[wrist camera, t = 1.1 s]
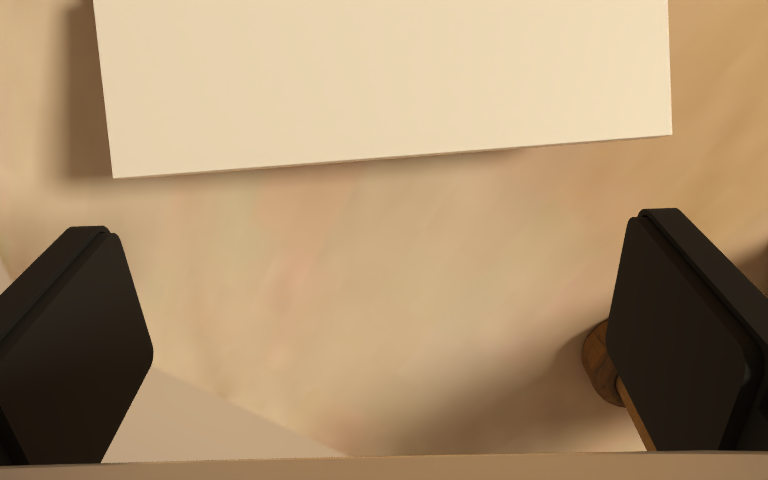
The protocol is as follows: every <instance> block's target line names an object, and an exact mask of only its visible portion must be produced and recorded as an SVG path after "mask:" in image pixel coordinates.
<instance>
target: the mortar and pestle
mask: <svg viewBox="0 0 768 480" xmlns="http://www.w3.org/2000/svg"><path fill="white" fill-rule="evenodd" d="M607 324H608V320H607V321H605V322H604V323H602V324H601V325H599V326H598V327H597V328H596V329H595V330H594V331H593V332H592V333H591V334H590V335H589V336H588V338H587V339H586V341H585V343H584V346H583V349H582V362H583V365H584V368H585V370H586V372H587V374H588V376H589V378H590V380H591V383H592V385H593V387H594V389H595V390H596V392H597V393H598V394H599V395H600V396H601V397H602V398H603V399H604V400H606V401H607V402H609V403H611V404H613V405H616V406H620V407H625V408H627V410H628V412H629V414H630V416H631V418H632V421H633V423H634V425H635V427H636V429H637V431H638V433H639V435H640V437H641V439H642V441H643V443H644V445H645V447H646V449H647V451H657V450H656V448H655V446H654V444H653V442H652V440H651V438H650V436H649V434H648V432H647V430H646V428H645V426H644V424H643V422H642V420H641V418H640V416H639V414H638V412H637V410H636V408H635V406H634V404H633V402H632V400H631V398H630V396H629V394H628V392H627V390H626V388H625V386H624V384H623V382H622V380H621V378H620V377H619V375H618V373H617V371H616V369H615V367H614V365H613V363H612V361H611V359H610V357H609V355H608V352H607V349H606V342H605V336H606V330H607Z"/></svg>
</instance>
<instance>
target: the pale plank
mask: <svg viewBox="0 0 768 480" xmlns="http://www.w3.org/2000/svg"><path fill="white" fill-rule="evenodd" d="M93 5H94V13H95V22H96V31H97V40H98V49H99V58H100V67H101V76H102V84H103V93H104V102H105V111H106V120H107V129H108V138H109V147H110V155H111V164H112V173H113V178H118V179H138V178H151V177H164V176H177V175H190V174H203V173H215V172H228V171H241V170H254V169H267V168H280V167H293V166H305V165H318V164H331V163H344V162H357V161H370V160H382V159H395V158H408V157H421V156H434V155H447V154H459V153H472V152H485V151H498V150H511V149H524V148H537V147H549V146H562V145H575V144H588V143H601V142H614V141H626V140H639V139H652V138H659V137H664V136H668V135H672V114H671V85H670V56H669V26H668V0H93Z"/></svg>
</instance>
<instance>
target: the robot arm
mask: <svg viewBox="0 0 768 480" xmlns="http://www.w3.org/2000/svg"><path fill="white" fill-rule="evenodd" d="M605 342H606V349H607V352H608V355H609V357H610V359H611V361H612V363H613V365H614V367H615V369H616V371H617V373H618V375H619V377H620V378H621V380H622V382H623V384H624V386H625V388H626V390H627V392H628V394H629V396H630V398H631V400H632V402H633V404H634V406H635V408H636V410H637V412H638V414H639V416H640V418H641V420H642V422H643V424H644V426H645V428H646V430H647V432H648V434H649V436H650V438H651V440H652V442H653V444H654V446H655V448H656V450H657V451H639V452H580V453H522V454H464V455H415V456H368V457H325V458H281V459H242V460H241V459H239V460H202V461H165V462H130V463H101V461H102V459H103V457H104V455H105V453H106V451H107V449H108V447H109V446H110V444H111V442H112V440H113V438H114V436H115V434H116V432H117V430H118V428H119V426H120V424H121V422H122V421H123V419H124V417H125V415H126V413H127V410H128V409H129V407H130V405H131V403H132V401H133V399H134V397H135V396H136V394H137V392H138V390H139V388H140V386H141V384H142V382H143V380H144V378H145V376H146V374H147V373H148V370H149V369H150V367H151V364H152V361H153V346H152V342H151V339H150V336H149V332H148V329H147V326H146V323H145V319H144V316H143V313H142V309H141V306H140V303H139V300H138V296H137V293H136V290H135V286H134V283H133V280H132V276H131V273H130V270H129V267H128V263H127V260H126V257H125V253H124V250H123V247H122V244H121V241H120V238H119V237H118V235H117V234H115V233H110V231H109V230H108V229H107V228H106V227H105V226H79V227H70V228H68V229H67V230H66V231H65V232H64V233H63V234H62V235H61V236H60V237H59V238H58V239H57V240H56V241H55V242H54V243H53V244H52V245H51V246H50V247H48V248H47V249H46V250H45V251H44V252H43V253H42V254H41V255H40V256H39V257H38V258H37V259H36V260H35V261H34V262H33V263H32V264H31V265H30V266H29V267H28V268H27V269H26V270H25V271H24V272H23V273H22V274H21V275H20V276H19V277H18V278H17V279H16V280H15V281H14V282H13V283H12V284H11V285H10V286H9V287H8V288H7V289H6V290H5V291H4V292H3V293H2V294H1V295H0V480H768V299H767V298H766V297H765V296H764V295H763V294H762V293H761V292H760V291H759V290H758V289H757V288H756V287H755V286H754V285H753V284H752V283H751V282H750V281H749V280H748V279H747V278H746V277H745V276H744V275H743V274H742V273H741V272H740V271H739V270H738V268H737V267H736V266H735V265H734V264H733V263H732V262H731V261H730V260H729V259H728V258H727V257H726V256H725V255H724V254H723V253H722V252H721V251H720V250H719V249H718V248H717V247H716V246H715V245H714V244H713V243H712V242H711V241H710V240H709V239H708V238H707V237H706V236H705V235H704V234H703V233H702V232H701V231H700V230H699V229H698V228H697V227H696V226H695V225H694V224H693V223H692V222H691V221H690V220H689V219H688V218H687V217H686V216H685V215H684V214H683V213H682V212H681V211H680V210H679V209H677V208H661V209H643V210H641V211H640V212H639V214H638V216H637V217H632V218H630V219H629V221H628V224H627V228H626V233H625V238H624V243H623V248H622V253H621V258H620V264H619V269H618V274H617V279H616V284H615V289H614V294H613V299H612V304H611V309H610V314H609V319H608V324H607V330H606V336H605Z"/></svg>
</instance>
